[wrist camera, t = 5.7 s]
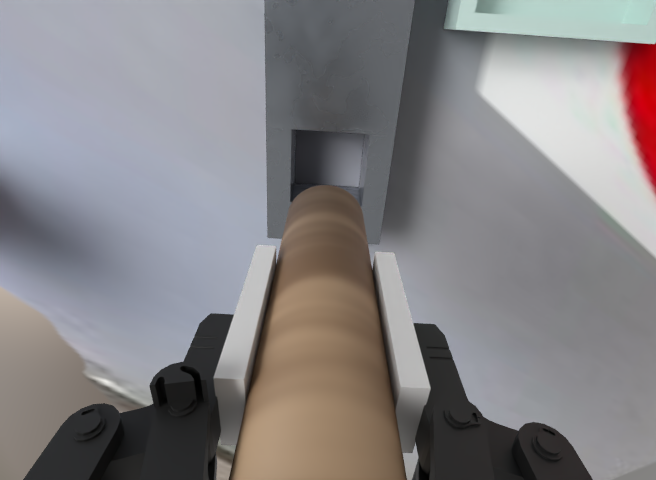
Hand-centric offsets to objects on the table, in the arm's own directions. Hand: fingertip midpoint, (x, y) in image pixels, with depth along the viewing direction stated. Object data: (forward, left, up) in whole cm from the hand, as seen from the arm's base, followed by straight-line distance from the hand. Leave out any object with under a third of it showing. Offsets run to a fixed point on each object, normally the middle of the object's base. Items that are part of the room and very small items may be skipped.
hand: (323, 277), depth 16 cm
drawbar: (-6, 0, -18) cm, 19 cm away
